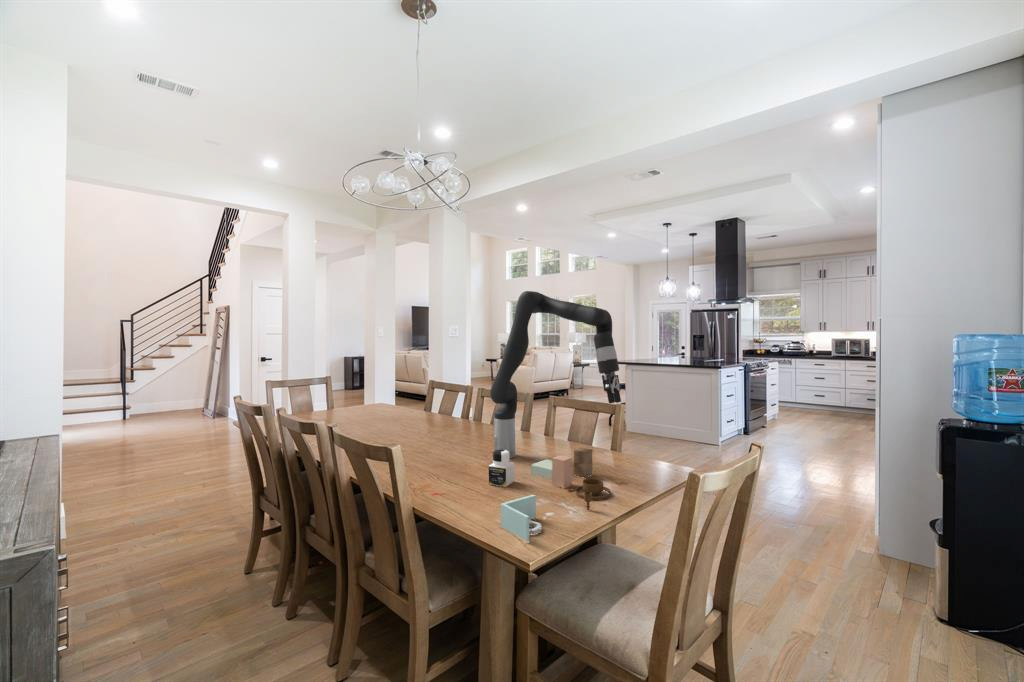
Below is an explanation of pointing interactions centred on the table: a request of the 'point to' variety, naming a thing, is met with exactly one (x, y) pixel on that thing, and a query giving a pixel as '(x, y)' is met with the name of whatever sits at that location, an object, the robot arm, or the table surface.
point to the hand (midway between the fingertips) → (615, 402)
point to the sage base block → (542, 468)
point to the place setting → (591, 490)
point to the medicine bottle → (501, 469)
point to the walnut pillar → (583, 462)
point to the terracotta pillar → (562, 471)
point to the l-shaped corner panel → (520, 517)
